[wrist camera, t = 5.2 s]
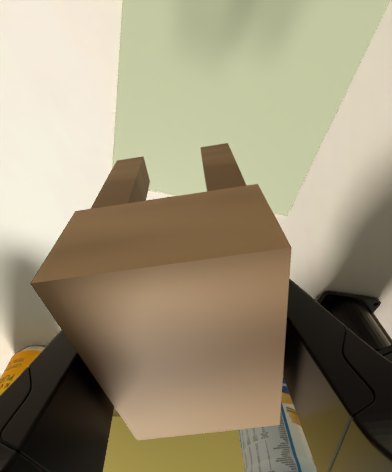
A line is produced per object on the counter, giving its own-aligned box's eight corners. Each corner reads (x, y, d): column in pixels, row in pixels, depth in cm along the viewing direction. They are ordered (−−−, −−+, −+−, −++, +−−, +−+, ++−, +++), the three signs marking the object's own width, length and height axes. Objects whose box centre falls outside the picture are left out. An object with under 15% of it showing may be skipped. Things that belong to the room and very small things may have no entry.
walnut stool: (242, 278, 14) (279, 425, 9) (154, 290, 14) (137, 440, 9) (232, 136, 10) (291, 247, 5) (109, 156, 10) (30, 283, 5)
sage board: (385, -2, 16) (391, -4, 15) (285, 212, 23) (287, 216, 23) (130, -89, 13) (128, -94, 13) (113, 180, 21) (111, 183, 21)
